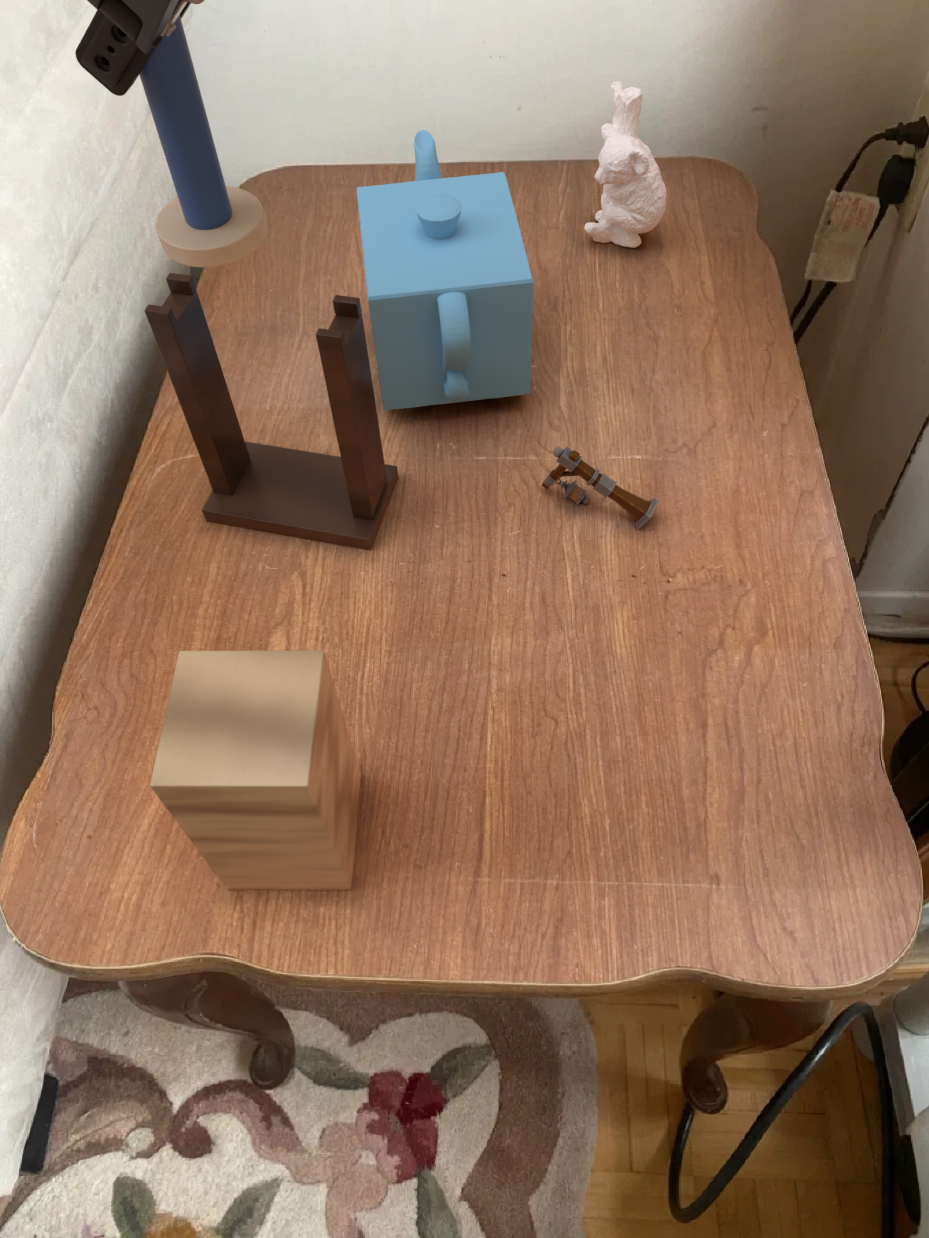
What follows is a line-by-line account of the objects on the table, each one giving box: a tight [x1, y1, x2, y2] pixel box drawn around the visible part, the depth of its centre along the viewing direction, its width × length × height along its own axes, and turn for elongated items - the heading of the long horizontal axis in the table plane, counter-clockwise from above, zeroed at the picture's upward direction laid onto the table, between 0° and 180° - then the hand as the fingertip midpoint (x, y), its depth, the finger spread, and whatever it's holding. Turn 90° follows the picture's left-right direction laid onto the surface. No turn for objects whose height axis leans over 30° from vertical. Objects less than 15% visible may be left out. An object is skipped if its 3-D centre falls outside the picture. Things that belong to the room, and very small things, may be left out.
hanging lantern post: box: [541, 445, 660, 530], centre depth 67 cm, size 2×8×4 cm, turn 65°
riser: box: [149, 649, 362, 891], centre depth 49 cm, size 7×7×14 cm
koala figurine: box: [583, 80, 668, 249], centre depth 80 cm, size 8×7×12 cm
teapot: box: [356, 129, 534, 411], centre depth 72 cm, size 22×11×14 cm, turn 7°
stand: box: [144, 272, 399, 551], centre depth 62 cm, size 7×12×17 cm, turn 76°
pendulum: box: [139, 14, 268, 268], centre depth 40 cm, size 5×13×12 cm, turn 75°
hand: (116, 57), depth 39 cm, fingers closed on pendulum
